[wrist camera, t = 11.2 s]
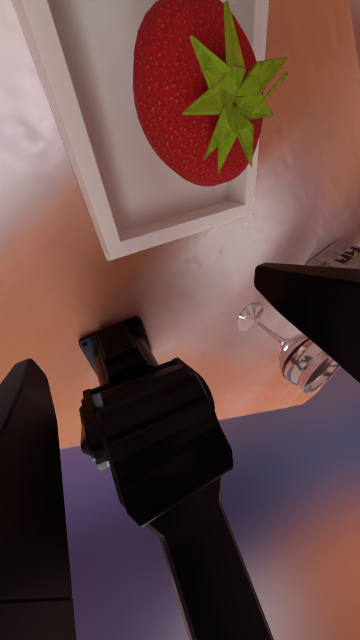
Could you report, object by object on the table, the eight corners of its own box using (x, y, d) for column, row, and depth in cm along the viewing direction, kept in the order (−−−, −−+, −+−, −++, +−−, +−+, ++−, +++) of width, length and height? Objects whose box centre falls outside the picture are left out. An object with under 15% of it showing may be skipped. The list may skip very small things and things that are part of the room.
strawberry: (145, 8, 12) (296, -223, 5) (218, 136, 17) (346, 116, 10) (85, 107, 13) (136, 35, 6) (170, 201, 18) (256, 227, 11)
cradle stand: (229, 218, 23) (294, 238, 17) (105, 257, 19) (134, 299, 13) (231, -148, 12) (427, -461, 6) (-72, -228, 8) (-384, -1350, 2)
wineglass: (269, 319, 36) (342, 369, 27) (236, 343, 35) (301, 402, 27) (265, 288, 32) (352, 336, 23) (227, 315, 31) (302, 375, 22)
